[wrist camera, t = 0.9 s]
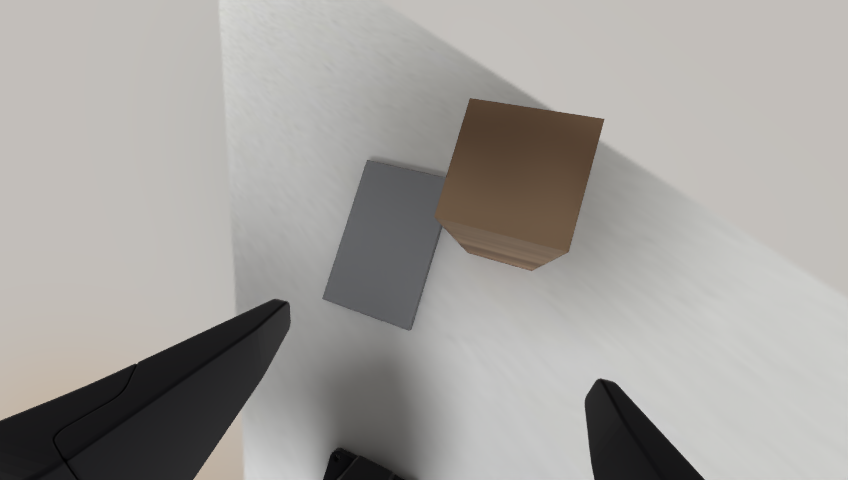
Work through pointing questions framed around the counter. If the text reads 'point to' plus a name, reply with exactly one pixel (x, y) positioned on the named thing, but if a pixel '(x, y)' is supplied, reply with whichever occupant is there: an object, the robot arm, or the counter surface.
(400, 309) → the rubber mat
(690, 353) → the counter surface
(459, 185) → the walnut block
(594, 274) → the counter surface
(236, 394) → the robot arm
